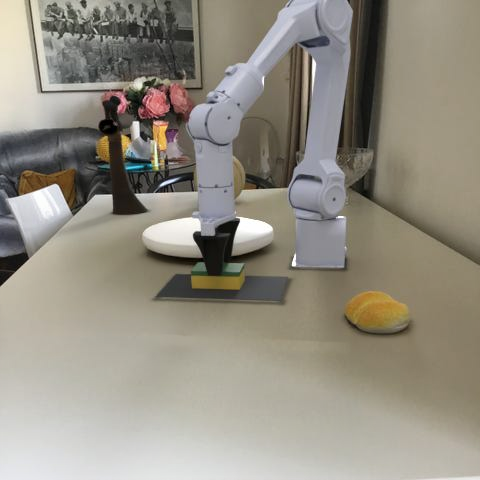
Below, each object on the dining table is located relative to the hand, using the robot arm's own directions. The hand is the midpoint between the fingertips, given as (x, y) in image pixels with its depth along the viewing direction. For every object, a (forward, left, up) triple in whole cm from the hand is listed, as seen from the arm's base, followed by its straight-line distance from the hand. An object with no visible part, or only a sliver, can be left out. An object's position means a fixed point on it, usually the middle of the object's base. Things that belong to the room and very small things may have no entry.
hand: (219, 268), depth 94 cm
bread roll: (-25, +13, -3) cm, 28 cm away
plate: (+7, -23, -3) cm, 24 cm away
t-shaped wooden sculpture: (+38, -61, -3) cm, 72 cm away
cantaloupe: (+15, -73, -3) cm, 74 cm away
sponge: (0, 0, -3) cm, 3 cm away
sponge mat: (-1, +1, -3) cm, 4 cm away
